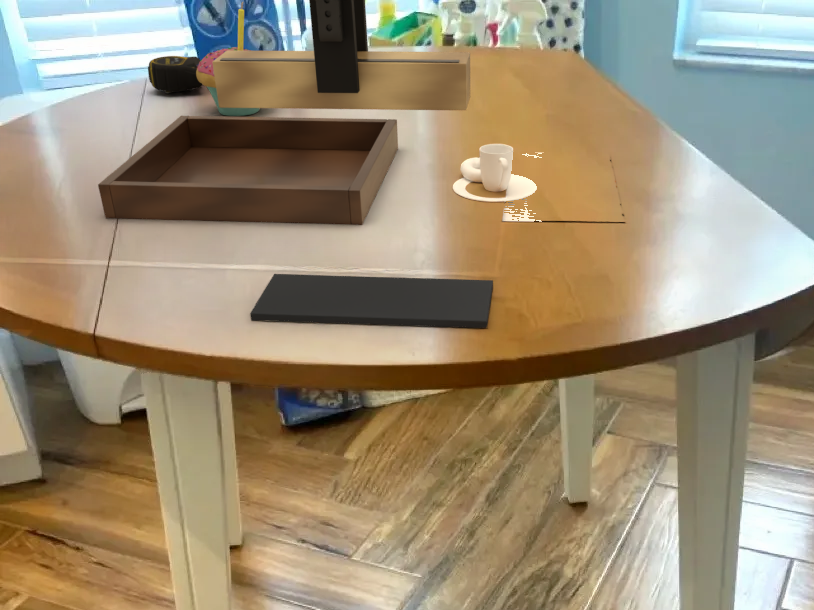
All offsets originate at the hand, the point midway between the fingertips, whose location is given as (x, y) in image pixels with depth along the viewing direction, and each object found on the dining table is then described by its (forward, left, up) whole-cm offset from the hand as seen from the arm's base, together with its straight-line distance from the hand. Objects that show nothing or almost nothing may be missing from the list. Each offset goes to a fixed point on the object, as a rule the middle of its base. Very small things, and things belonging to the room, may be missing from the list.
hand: (344, 83), depth 66 cm
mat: (+2, -3, -15) cm, 15 cm away
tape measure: (-33, +58, -15) cm, 69 cm away
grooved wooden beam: (0, 0, -1) cm, 1 cm away
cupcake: (-23, +48, -15) cm, 55 cm away
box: (-13, +22, -15) cm, 30 cm away
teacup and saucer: (+11, +24, -15) cm, 30 cm away
